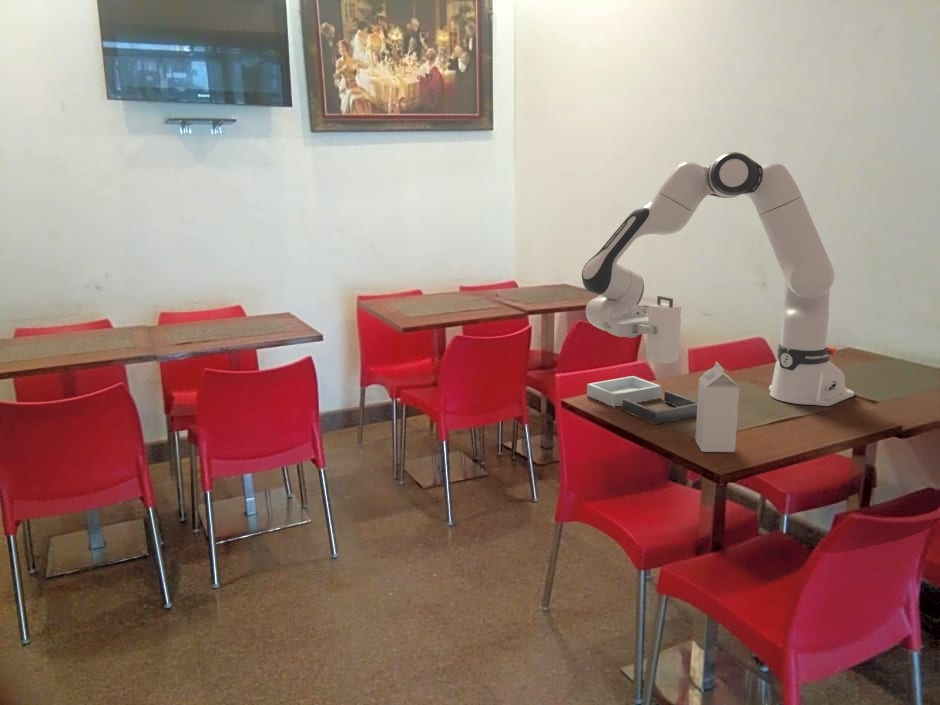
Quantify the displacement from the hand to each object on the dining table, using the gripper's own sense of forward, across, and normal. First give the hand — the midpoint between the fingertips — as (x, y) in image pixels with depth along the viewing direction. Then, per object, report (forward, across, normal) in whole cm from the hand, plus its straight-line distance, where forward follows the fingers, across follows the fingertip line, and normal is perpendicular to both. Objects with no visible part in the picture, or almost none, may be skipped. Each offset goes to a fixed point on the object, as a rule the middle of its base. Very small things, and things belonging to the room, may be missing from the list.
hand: (664, 329), depth 180 cm
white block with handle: (0, 0, +8) cm, 8 cm away
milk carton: (+25, -6, +22) cm, 34 cm away
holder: (0, 0, +22) cm, 22 cm away
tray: (-15, 0, +22) cm, 27 cm away
